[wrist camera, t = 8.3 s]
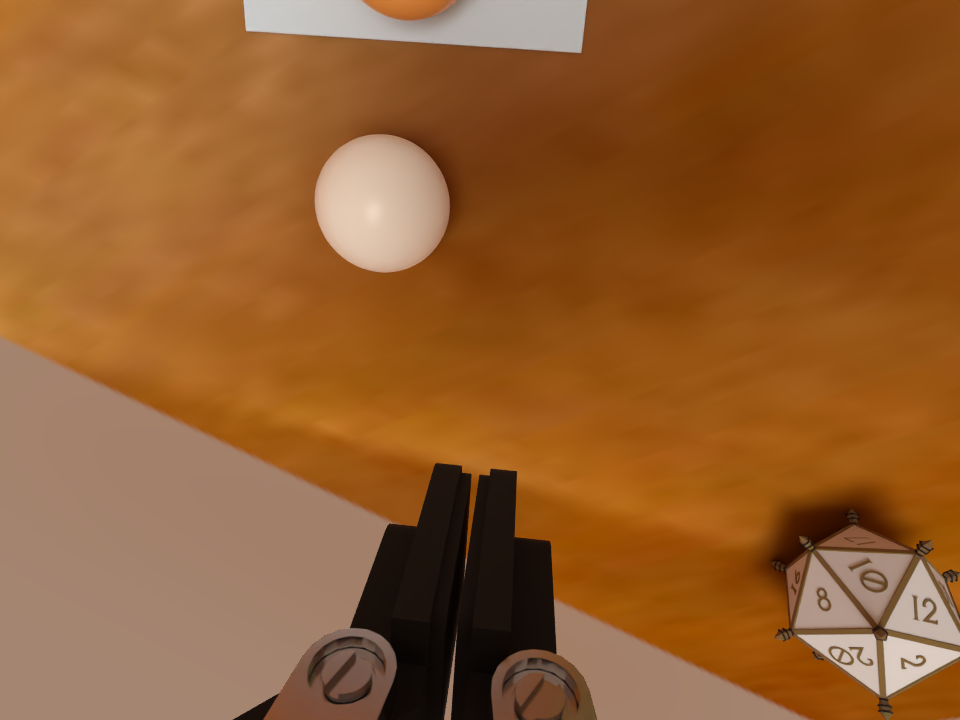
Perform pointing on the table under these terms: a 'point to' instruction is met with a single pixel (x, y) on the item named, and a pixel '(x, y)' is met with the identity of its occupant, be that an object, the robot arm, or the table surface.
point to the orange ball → (409, 8)
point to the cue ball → (382, 203)
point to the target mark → (431, 22)
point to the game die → (872, 609)
